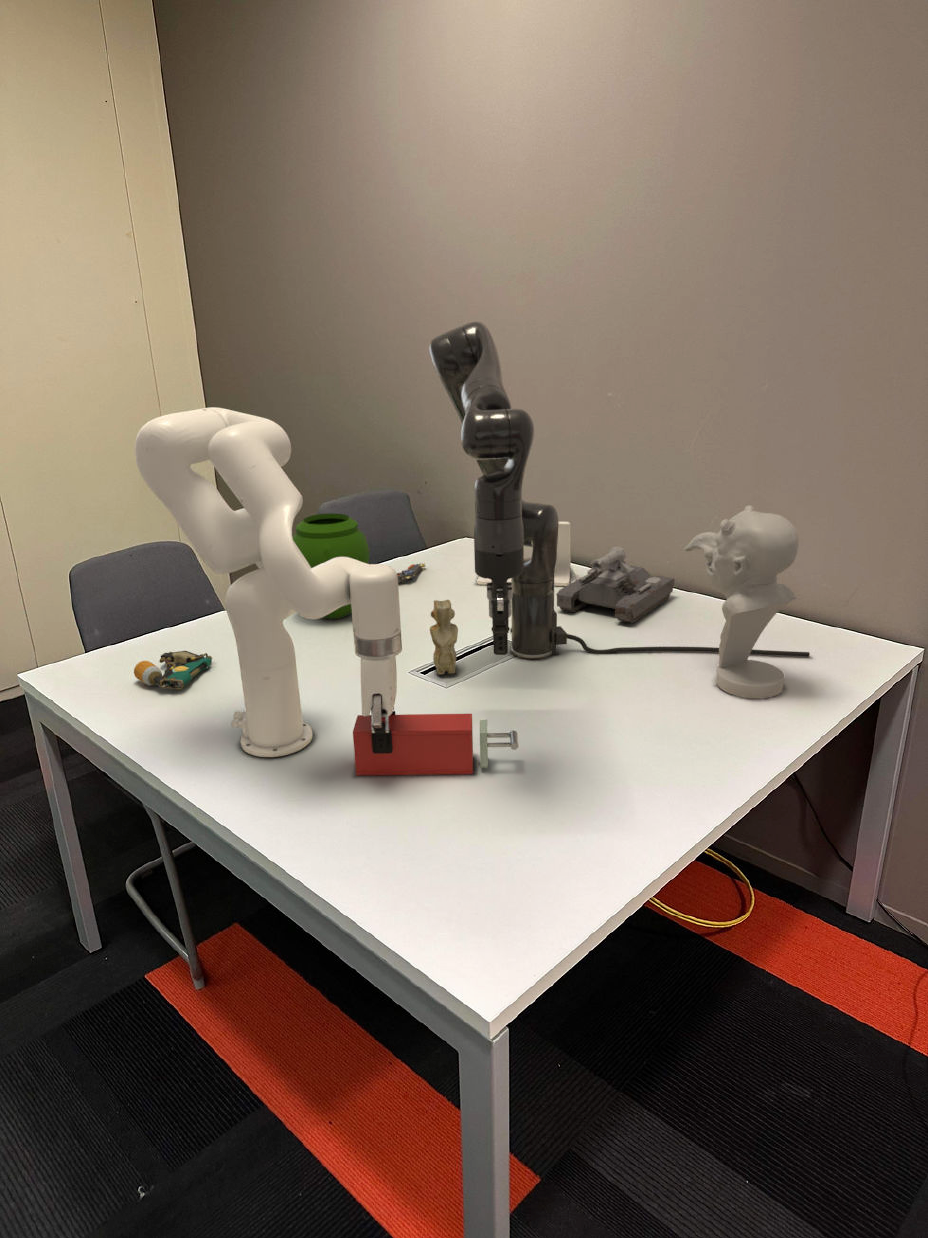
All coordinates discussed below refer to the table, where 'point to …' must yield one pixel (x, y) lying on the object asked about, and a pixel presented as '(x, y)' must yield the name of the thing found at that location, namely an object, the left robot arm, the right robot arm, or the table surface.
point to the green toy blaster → (172, 669)
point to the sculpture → (444, 637)
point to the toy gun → (410, 571)
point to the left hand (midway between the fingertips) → (384, 741)
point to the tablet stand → (561, 563)
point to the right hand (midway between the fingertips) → (500, 645)
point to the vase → (331, 544)
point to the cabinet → (417, 745)
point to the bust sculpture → (748, 593)
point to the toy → (616, 588)
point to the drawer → (485, 745)
